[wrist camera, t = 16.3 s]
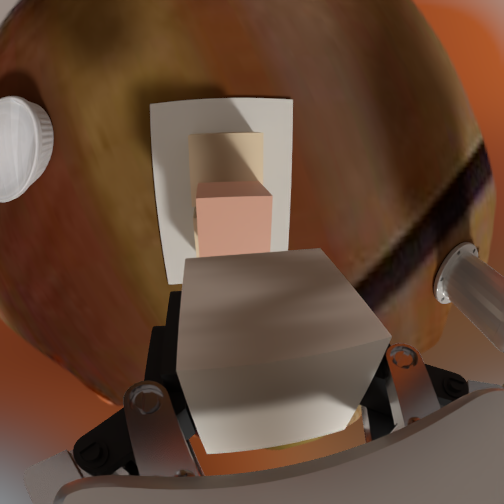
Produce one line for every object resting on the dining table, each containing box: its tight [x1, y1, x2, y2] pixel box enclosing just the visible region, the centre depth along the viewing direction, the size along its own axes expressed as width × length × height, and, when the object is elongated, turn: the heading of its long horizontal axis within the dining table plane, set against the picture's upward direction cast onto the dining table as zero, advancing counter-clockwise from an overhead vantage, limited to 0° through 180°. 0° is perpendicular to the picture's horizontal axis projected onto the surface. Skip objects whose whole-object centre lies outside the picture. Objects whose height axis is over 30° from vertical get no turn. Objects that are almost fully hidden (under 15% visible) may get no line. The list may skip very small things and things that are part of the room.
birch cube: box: [176, 248, 392, 454], centre depth 9 cm, size 5×5×5 cm
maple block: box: [188, 132, 263, 207], centre depth 23 cm, size 6×6×5 cm
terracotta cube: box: [196, 181, 273, 257], centre depth 21 cm, size 5×5×5 cm
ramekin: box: [0, 96, 54, 202], centre depth 18 cm, size 11×11×5 cm
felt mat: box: [150, 98, 293, 284], centre depth 27 cm, size 14×20×1 cm
